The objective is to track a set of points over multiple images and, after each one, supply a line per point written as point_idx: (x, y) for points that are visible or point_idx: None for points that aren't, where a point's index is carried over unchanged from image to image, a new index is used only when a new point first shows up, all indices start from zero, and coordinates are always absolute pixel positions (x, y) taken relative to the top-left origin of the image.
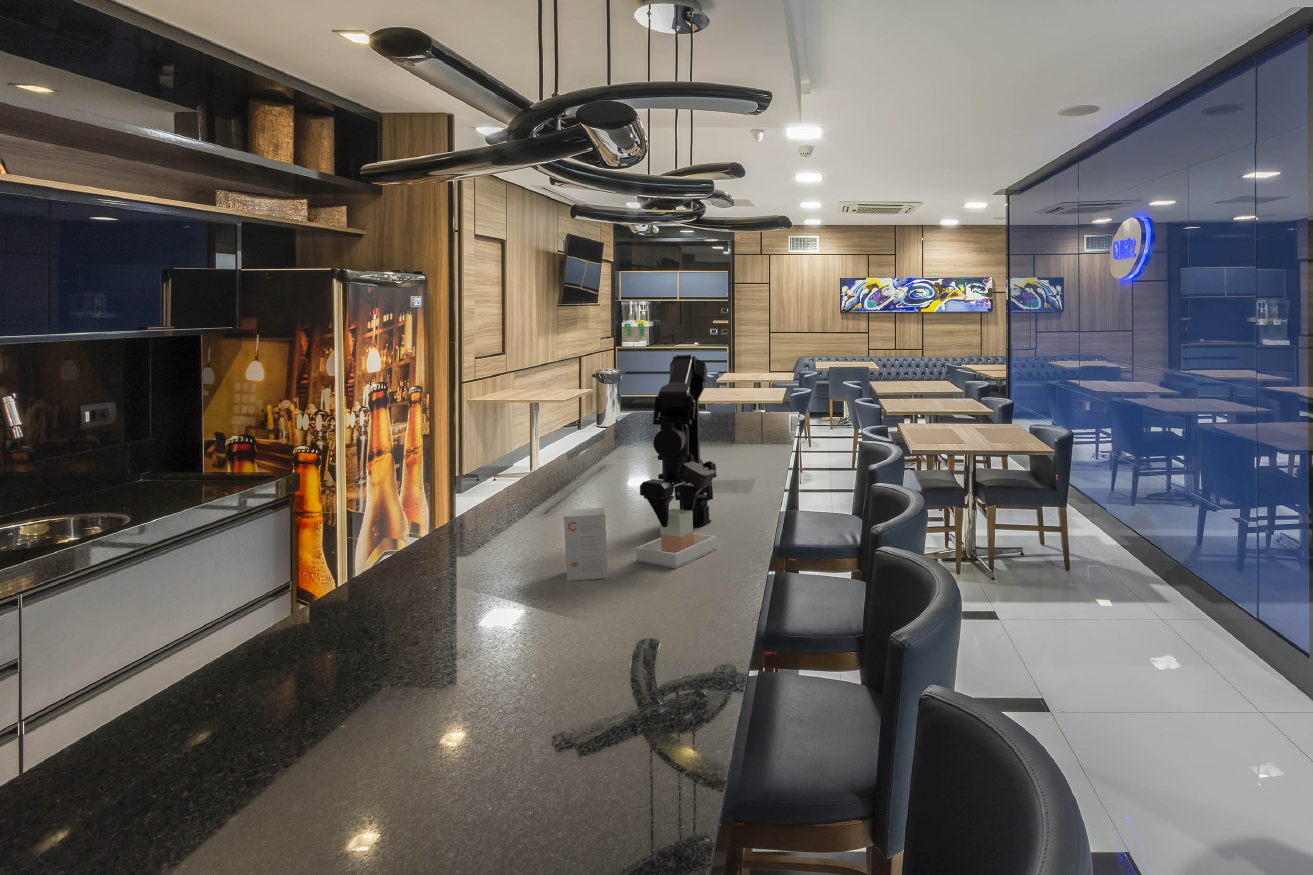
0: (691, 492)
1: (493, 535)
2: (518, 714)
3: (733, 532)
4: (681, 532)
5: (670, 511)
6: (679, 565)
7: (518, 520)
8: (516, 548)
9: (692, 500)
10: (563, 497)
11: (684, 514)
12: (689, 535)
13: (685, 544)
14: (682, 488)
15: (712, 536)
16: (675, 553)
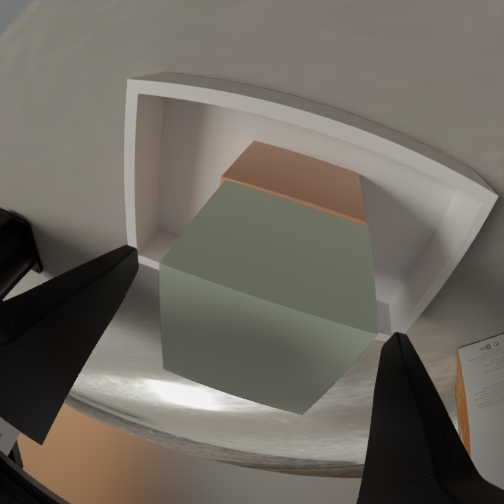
0: (16, 370)
1: (254, 454)
2: None
3: (10, 123)
4: (352, 234)
5: (243, 383)
6: (458, 162)
7: (180, 436)
8: (310, 445)
9: (52, 317)
10: (77, 395)
11: (300, 307)
12: (273, 184)
13: (321, 181)
14: (37, 419)
15: (135, 96)
16: (486, 200)
